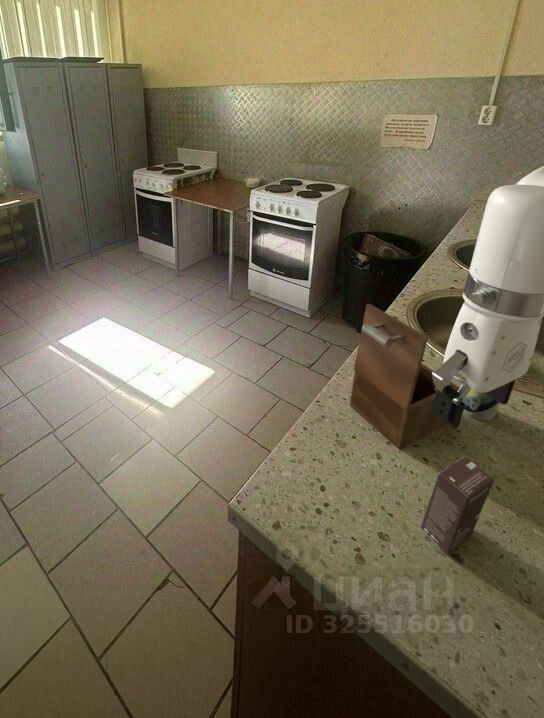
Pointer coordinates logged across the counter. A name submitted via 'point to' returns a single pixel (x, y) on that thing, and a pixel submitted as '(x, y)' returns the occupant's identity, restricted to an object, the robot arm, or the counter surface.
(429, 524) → the box
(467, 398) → the lotion bottle
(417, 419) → the chest
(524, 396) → the counter surface
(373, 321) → the lid
